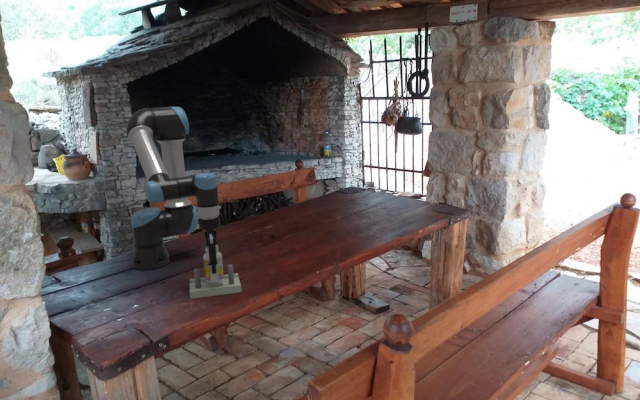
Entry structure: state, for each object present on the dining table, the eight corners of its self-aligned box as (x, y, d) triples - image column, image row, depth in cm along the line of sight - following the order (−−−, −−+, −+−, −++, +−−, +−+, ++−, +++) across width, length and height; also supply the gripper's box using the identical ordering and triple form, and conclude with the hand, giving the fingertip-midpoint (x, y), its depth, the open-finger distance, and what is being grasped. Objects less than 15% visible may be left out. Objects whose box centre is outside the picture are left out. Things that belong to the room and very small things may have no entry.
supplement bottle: (208, 276, 186) (204, 243, 183) (225, 276, 186) (222, 243, 183) (203, 283, 179) (200, 249, 176) (221, 283, 179) (218, 249, 176)
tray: (190, 298, 176) (188, 276, 174) (190, 285, 187) (188, 264, 185) (241, 292, 180) (239, 270, 178) (238, 279, 191) (236, 258, 189)
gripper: (221, 222, 168) (226, 286, 174) (218, 209, 187) (223, 266, 192) (198, 225, 167) (204, 289, 172) (197, 211, 185) (203, 269, 191)
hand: (214, 277), depth 182 cm, fingers closed on supplement bottle, 7 cm apart
